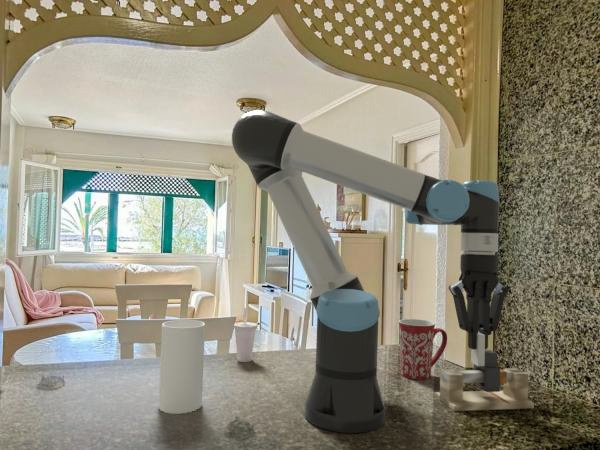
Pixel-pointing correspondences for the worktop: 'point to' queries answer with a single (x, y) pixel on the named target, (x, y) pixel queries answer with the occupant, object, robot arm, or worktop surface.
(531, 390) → the worktop surface
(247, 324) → the smoothie
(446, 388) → the rail
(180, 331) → the cup
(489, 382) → the dark grey sliding collar
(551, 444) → the worktop surface
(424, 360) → the mug
